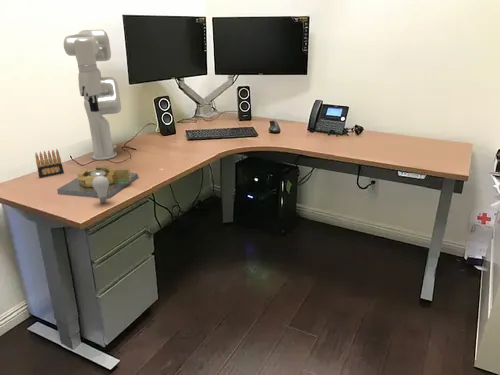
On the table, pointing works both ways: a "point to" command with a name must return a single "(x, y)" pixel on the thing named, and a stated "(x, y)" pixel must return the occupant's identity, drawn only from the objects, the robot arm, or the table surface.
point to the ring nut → (111, 174)
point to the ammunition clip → (49, 164)
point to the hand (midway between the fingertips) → (94, 111)
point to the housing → (80, 190)
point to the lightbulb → (101, 187)
